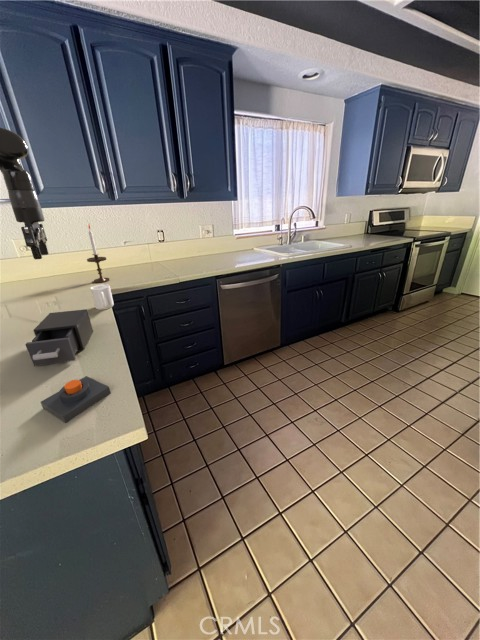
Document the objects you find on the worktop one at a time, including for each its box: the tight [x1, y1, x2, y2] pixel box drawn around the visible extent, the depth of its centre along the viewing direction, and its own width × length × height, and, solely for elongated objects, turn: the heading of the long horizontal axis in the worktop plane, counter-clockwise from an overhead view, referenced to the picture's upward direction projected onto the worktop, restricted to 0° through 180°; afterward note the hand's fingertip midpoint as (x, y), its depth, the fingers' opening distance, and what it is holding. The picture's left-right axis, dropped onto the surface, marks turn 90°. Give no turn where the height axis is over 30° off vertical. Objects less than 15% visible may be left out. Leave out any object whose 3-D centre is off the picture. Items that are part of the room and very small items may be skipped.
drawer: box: [24, 327, 80, 367], centre depth 85 cm, size 18×11×8 cm, turn 15°
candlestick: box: [86, 223, 110, 284], centre depth 163 cm, size 11×11×35 cm
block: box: [40, 375, 112, 424], centre depth 68 cm, size 12×10×4 cm
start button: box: [63, 379, 82, 394], centre depth 67 cm, size 4×4×2 cm
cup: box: [89, 283, 115, 311], centre depth 125 cm, size 8×12×10 cm
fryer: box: [33, 308, 94, 352], centre depth 95 cm, size 15×13×10 cm
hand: (41, 256), depth 92 cm, fingers open, 8 cm apart
